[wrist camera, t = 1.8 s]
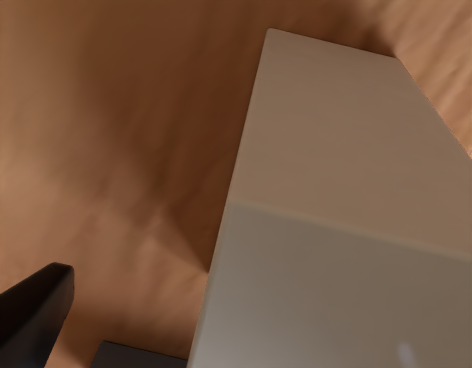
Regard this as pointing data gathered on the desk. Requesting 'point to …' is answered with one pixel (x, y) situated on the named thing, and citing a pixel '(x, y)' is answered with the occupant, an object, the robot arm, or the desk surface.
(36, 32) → the desk surface
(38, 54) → the desk surface
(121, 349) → the dark grey square prism
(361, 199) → the plain white rectangular box
